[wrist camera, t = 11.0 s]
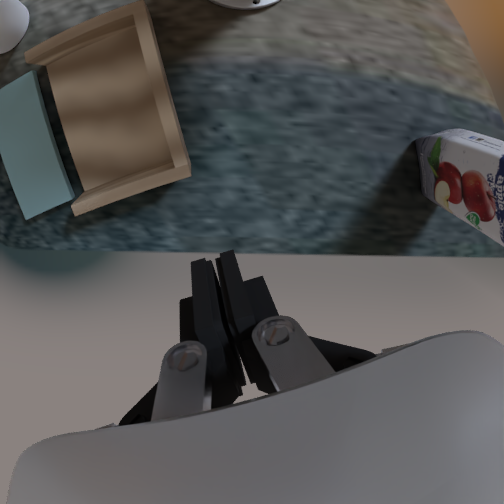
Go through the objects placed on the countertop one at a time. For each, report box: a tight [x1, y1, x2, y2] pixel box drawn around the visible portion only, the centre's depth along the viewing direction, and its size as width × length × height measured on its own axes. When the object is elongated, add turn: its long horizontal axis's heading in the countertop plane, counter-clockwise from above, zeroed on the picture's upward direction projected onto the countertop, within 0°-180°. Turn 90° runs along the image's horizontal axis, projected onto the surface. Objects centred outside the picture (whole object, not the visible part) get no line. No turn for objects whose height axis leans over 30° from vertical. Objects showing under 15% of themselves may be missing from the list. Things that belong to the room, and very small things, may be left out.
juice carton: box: [415, 129, 504, 246], centre depth 28 cm, size 9×10×27 cm
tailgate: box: [0, 70, 75, 220], centre depth 28 cm, size 16×1×7 cm
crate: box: [24, 0, 191, 216], centre depth 27 cm, size 18×12×6 cm
